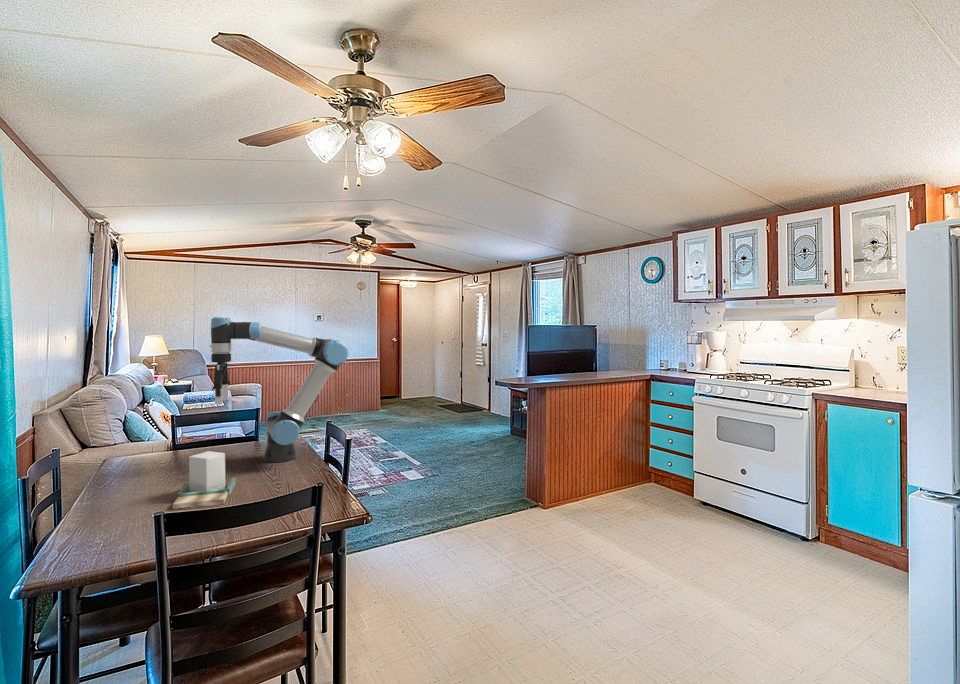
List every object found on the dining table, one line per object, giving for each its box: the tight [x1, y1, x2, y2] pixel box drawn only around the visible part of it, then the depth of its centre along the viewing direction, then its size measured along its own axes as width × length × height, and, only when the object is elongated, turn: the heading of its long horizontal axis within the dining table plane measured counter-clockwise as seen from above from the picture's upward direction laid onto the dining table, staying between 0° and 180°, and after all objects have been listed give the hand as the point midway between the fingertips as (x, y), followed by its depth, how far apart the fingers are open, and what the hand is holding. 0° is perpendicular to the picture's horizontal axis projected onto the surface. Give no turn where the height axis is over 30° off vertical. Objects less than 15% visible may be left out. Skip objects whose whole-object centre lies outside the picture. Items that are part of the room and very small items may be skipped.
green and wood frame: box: [172, 476, 237, 510], centre depth 178 cm, size 17×22×3 cm
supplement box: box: [188, 450, 227, 492], centre depth 181 cm, size 9×9×15 cm
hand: (221, 401), depth 203 cm, fingers open, 13 cm apart
